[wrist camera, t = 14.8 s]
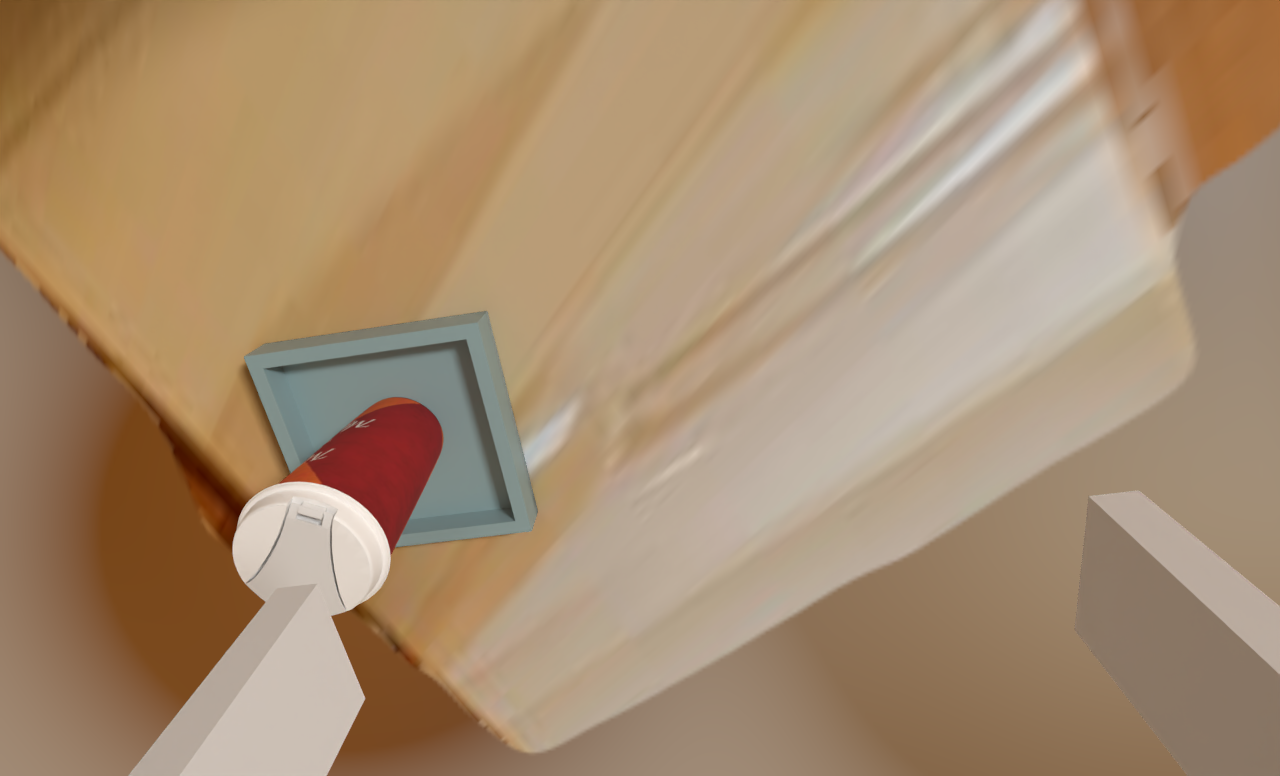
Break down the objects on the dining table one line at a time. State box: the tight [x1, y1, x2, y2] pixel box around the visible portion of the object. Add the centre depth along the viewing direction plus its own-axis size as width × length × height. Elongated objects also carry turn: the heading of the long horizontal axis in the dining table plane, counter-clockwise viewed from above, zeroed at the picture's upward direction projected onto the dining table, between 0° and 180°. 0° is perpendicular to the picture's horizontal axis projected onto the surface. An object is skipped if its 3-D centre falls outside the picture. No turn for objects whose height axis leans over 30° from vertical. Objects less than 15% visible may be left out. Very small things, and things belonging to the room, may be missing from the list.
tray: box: [244, 311, 538, 547], centre depth 49 cm, size 16×16×3 cm
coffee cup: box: [233, 397, 444, 616], centre depth 42 cm, size 8×8×15 cm
